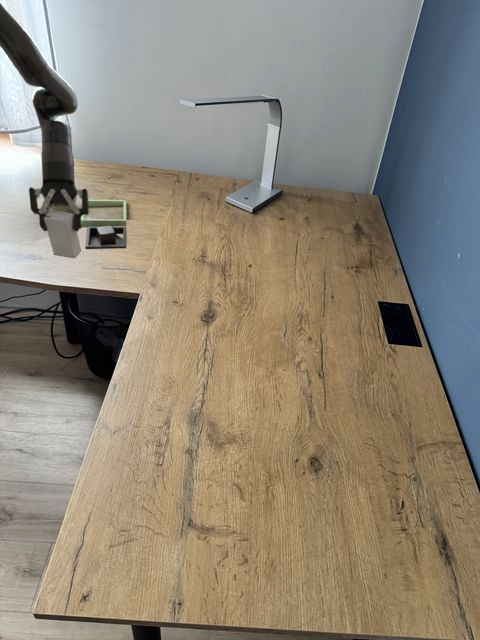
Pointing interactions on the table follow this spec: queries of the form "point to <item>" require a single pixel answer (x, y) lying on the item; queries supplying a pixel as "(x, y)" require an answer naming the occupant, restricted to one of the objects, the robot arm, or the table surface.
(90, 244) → the dark tray
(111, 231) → the dark block
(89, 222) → the light tray
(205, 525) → the table surface
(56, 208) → the bowl
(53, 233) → the cosmetic box
